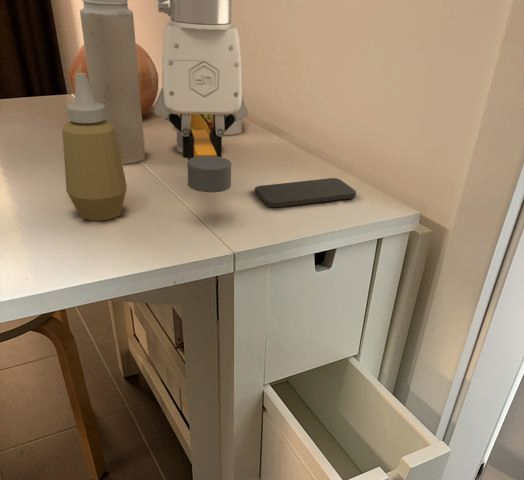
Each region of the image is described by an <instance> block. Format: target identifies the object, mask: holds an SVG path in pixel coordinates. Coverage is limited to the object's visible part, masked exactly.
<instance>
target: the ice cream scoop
mask: <svg viewBox="0 0 524 480" xmlns="http://www.w3.org/2000/svg"><path fill="white" fill-rule="evenodd" d="M192 134H193V136H194V157H193V158H190V159H189V160H187V164H186V167H187V186H188V187H189V188H190V189H191V190H193V191H196V192H201V193H207V194H209V193H211V194H213V193H221V192H226V191H228V190H229V189H230V188H231V187H232V162H231V160H229V159H228V158H226V157H224V156H223V157H222V156H221V157H219V156H217V154H216V152H215V149H214V147H213V145H212V143H211V141H210V138H209V136H208V133H207V131H206V130H192Z"/></svg>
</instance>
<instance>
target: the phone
mask: <svg viewBox="0 0 524 480" xmlns="http://www.w3.org/2000/svg"><path fill="white" fill-rule="evenodd" d="M254 194H255V195H256V196H257V197H258V198H259V199H260V200H261V201H262V202H263V203H264V204H265V205H266V206H267V207H271V208H280V207H281V208H282V207H288V206H297V205H305V204H315V203H322V202H331V201H338V200H346V199H353V198H355V197H356V196H357V191H356V190H355V188H352V187H351V186H350V185H349V184H347V183H346V182H345V181H343V180H342V179H340V178H336V177H328V178H320V179H309V180H301V181H293V182H281V183H273V184H263V185H258V186H255V187H254Z"/></svg>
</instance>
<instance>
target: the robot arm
mask: <svg viewBox="0 0 524 480" xmlns="http://www.w3.org/2000/svg"><path fill="white" fill-rule="evenodd" d="M157 10H158V13H164V14H165V15H167V16H168V17H169V18H170V22H166V23H165V25H164V31H163V39H162V57H161V59H162V61H161V66H162V67H161V78H162V79H161V81H162V82H161V85H162V87H161V90H160V92H159V94H158V96H157V100H156V102H155V104H154V107H153V112H154V114H155V116H157V117H159V118H161V119H163V120H165V121H167V122H169V123H170V124H171V125H172V126H174V128H175V129H176V128H177V129H178V130H179V131H180V132H181V133H182V144H183V154H182V157H183V159H186V160H187V161H188V160H189V159H190V158H193V157H194V136H193V134H192V130H191V128H190V124H191V114H213V127H212V131H211V132H210V141H211V143H212V145H213V147H214V149H215V152H216V154H217V156H219V157H222V150H223V149H222V146H223V145H222V144H223V142H222V141H223V136H225V135H224V133H225V131H226V130H227V129H228V128H229V127H230V126H231V125H232V124H233V123H234V122H235V121H238V120H240V119H242V120H243V119H244V118H246V117H247V116H249V114H250V111H249V109H248V105H247V103H246V101H245V99H244V95H243V89H242V88H243V85H242V82H243V81H242V79H243V78H242V77H243V76H242V52H241V40H240V34H239V28H238V27H237V26H235V25H232V17H233V15H232V14H233V13H232V12H233V11H232V10H233V0H157ZM242 95H243V96H242ZM177 113H180V117H179V115H178V114H177ZM224 114H225V115H224Z"/></svg>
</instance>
